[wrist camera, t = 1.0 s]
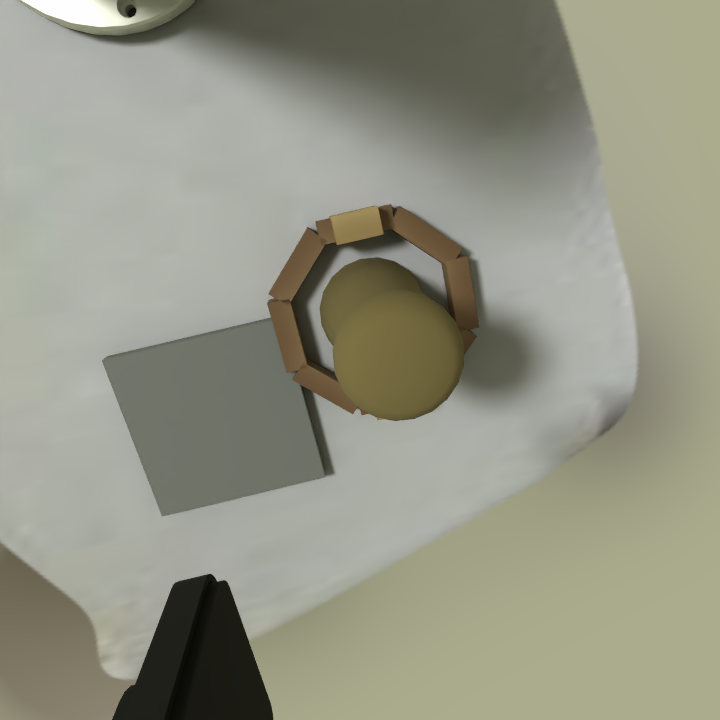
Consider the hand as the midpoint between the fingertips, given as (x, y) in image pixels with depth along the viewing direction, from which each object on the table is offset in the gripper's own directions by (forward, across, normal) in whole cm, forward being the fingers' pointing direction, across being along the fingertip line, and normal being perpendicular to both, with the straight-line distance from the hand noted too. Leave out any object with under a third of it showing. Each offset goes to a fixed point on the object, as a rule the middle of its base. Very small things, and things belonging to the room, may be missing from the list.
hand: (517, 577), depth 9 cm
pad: (+22, +10, +4) cm, 25 cm away
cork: (+22, 0, 0) cm, 22 cm away
